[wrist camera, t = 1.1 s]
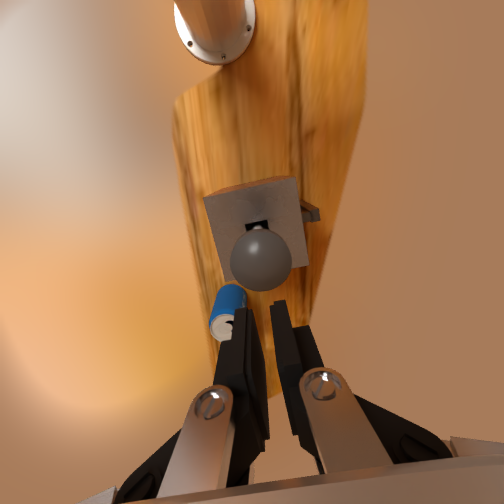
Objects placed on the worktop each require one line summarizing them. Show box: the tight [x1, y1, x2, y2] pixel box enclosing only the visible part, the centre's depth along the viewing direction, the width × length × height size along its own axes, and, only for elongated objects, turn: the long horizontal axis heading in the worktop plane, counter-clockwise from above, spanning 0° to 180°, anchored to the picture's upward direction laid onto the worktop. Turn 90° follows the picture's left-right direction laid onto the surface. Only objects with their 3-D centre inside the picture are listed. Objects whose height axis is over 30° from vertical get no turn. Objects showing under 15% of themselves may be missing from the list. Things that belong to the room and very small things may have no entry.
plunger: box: [230, 219, 292, 291], centre depth 29 cm, size 9×9×19 cm
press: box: [203, 176, 320, 282], centre depth 39 cm, size 11×14×19 cm
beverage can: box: [209, 284, 247, 342], centre depth 48 cm, size 6×6×12 cm
